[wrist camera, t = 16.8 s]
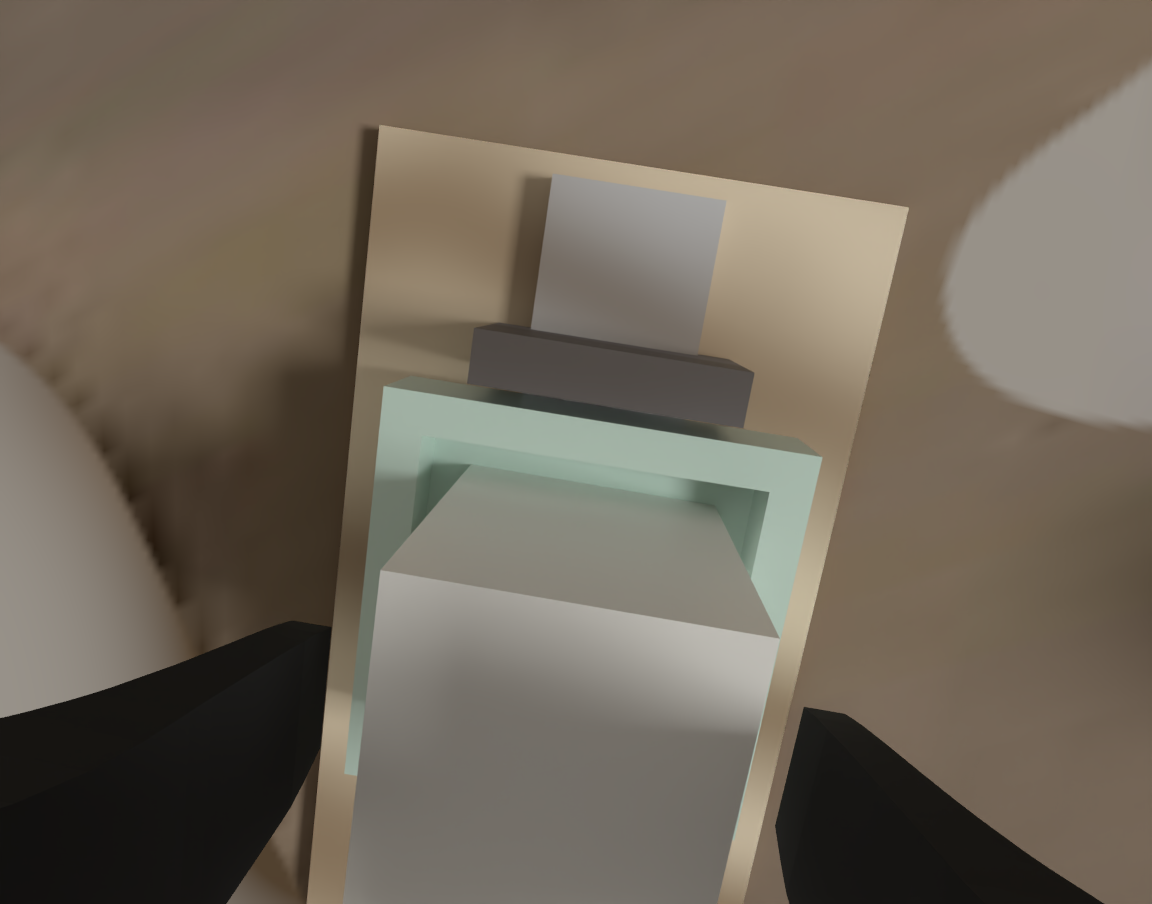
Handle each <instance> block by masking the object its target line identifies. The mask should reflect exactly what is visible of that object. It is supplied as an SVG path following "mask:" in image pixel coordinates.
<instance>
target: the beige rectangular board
mask: <svg viewBox="0 0 1152 904" xmlns="http://www.w3.org/2000/svg"><path fill="white" fill-rule="evenodd" d="M908 210H909V207H903V206H896V205H890V204H883V203H877V202H871V201H864V200H858V199H851V198H845V197H838V196H832V195H826V194H819V193H813V192H806V191H800V190H794V189H787V188H781V187H774V186H768V185H761V184H755V183H749V182H742V181H736V180H729V179H723V178H717V177H710V176H704V175H697V174H691V173H685V172H678V171H672V170H665V169H659V168H652V167H646V166H640V165H633V164H627V163H620V162H614V161H608V160H601V159H595V158H588V157H582V156H576V155H569V154H563V153H556V152H550V151H543V150H537V149H531V148H524V147H518V146H511V145H505V144H499V143H492V142H486V141H479V140H473V139H467V138H460V137H454V136H447V135H441V134H434V133H428V132H422V131H415V130H409V129H402V128H396V127H390V126H383V125H379V136H378V147H377V157H376V168H375V179H374V189H373V200H372V211H371V221H370V232H369V243H368V253H367V264H366V275H365V286H364V296H363V307H362V318H361V328H360V339H359V350H358V360H357V371H356V382H355V392H354V403H353V414H352V424H351V435H350V446H349V456H348V467H347V478H346V488H345V499H344V510H343V521H342V531H341V542H340V553H339V563H338V574H337V585H336V595H335V606H334V617H333V627H332V638H331V649H330V659H329V670H328V681H327V691H326V702H325V713H324V724H323V734H322V745H321V756H320V766H319V777H318V788H317V798H316V809H315V820H314V830H313V841H312V852H311V862H310V873H309V884H308V894H307V904H343V896H344V888H345V879H346V870H347V861H348V852H349V843H350V835H351V826H352V817H353V808H354V799H355V790H356V782H357V776H354V775H349V774H344V771H345V762H346V752H347V742H348V732H349V722H350V713H351V703H352V693H353V683H354V673H355V663H356V654H357V644H358V634H359V624H360V614H361V604H362V595H363V585H364V575H365V565H366V555H367V545H368V536H369V526H370V516H371V506H372V496H373V486H374V477H375V467H376V457H377V447H378V437H379V427H380V418H381V408H382V398H383V388H384V386H385V385H388V384H391V383H393V382H396V381H398V380H401V379H404V378H406V377H409V376H417V377H423V378H429V379H435V380H442V381H448V382H454V383H460V384H466V385H473V386H479V387H485V388H491V389H497V390H504V391H510V392H516V393H522V394H528V395H535V396H541V397H547V398H553V399H559V400H565V401H572V402H578V403H584V404H590V405H596V406H603V407H609V408H615V409H621V410H627V411H634V412H640V413H646V414H652V415H658V416H664V417H671V418H677V419H683V420H689V421H695V422H702V423H708V424H714V425H720V426H726V427H733V428H739V429H745V430H751V431H757V432H764V433H770V434H776V435H782V436H788V437H794V438H798V439H799V440H801V441H802V442H803V443H805V444H806V445H807V446H809V447H810V448H811V449H812V450H814V451H815V452H816V453H818V454H819V455H820V456H822V457H823V458H822V462H821V466H820V471H819V475H818V479H817V484H816V488H815V492H814V497H813V501H812V505H811V510H810V514H809V518H808V523H807V527H806V531H805V536H804V540H803V544H802V549H801V553H800V557H799V562H798V566H797V570H796V575H795V579H794V583H793V588H792V592H791V596H790V601H789V605H788V609H787V614H786V618H785V622H784V627H783V631H782V636H781V640H780V644H779V649H778V653H777V657H776V662H775V666H774V670H773V675H772V679H771V683H770V688H769V692H768V696H767V701H766V705H765V709H764V714H763V718H762V722H761V727H760V731H759V735H758V740H757V744H756V748H755V753H754V757H753V761H752V766H751V770H750V774H749V779H748V783H747V787H746V792H745V796H744V800H743V805H742V809H741V813H740V818H739V822H738V826H737V831H736V835H735V839H734V840H732V843H731V848H730V852H729V856H728V860H727V864H726V869H725V873H724V877H723V881H722V886H721V890H720V894H719V898H718V902H717V904H743V902H744V898H745V894H746V890H747V885H748V881H749V877H750V873H751V869H752V864H753V860H754V856H755V852H756V848H757V843H758V839H759V835H760V831H761V827H762V822H763V818H764V814H765V810H766V806H767V801H768V797H769V793H770V789H771V785H772V780H773V776H774V772H775V768H776V764H777V759H778V755H779V751H780V747H781V743H782V738H783V734H784V730H785V726H786V722H787V717H788V713H789V709H790V705H791V701H792V696H793V692H794V688H795V684H796V680H797V676H798V671H799V667H800V663H801V659H802V655H803V650H804V646H805V642H806V638H807V634H808V629H809V625H810V621H811V617H812V613H813V608H814V604H815V600H816V596H817V592H818V587H819V583H820V579H821V575H822V571H823V566H824V562H825V558H826V554H827V550H828V545H829V541H830V537H831V533H832V529H833V524H834V520H835V516H836V512H837V508H838V503H839V499H840V495H841V491H842V487H843V482H844V478H845V474H846V470H847V466H848V461H849V457H850V453H851V449H852V445H853V440H854V436H855V432H856V428H857V424H858V419H859V415H860V411H861V407H862V403H863V398H864V394H865V390H866V386H867V382H868V378H869V373H870V369H871V365H872V361H873V357H874V352H875V348H876V344H877V340H878V336H879V331H880V327H881V323H882V319H883V315H884V310H885V306H886V302H887V298H888V294H889V289H890V285H891V281H892V277H893V273H894V268H895V264H896V260H897V256H898V252H899V247H900V243H901V239H902V235H903V231H904V226H905V222H906V218H907V214H908Z"/></svg>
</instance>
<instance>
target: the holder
mask: <svg viewBox="0 0 1152 904" xmlns="http://www.w3.org/2000/svg"><path fill="white" fill-rule="evenodd" d="M822 458H823V457H822V456H820V455H819V454H818V453H816V452H815V451H814V450H812V449H811V448H810V447H809V446H807V445H806V444H805V443H803V442H802V441H801V440H799V439H798V438H794V437H788V436H782V435H776V434H770V433H764V432H757V431H751V430H745V429H739V428H733V427H726V426H720V425H714V424H708V423H702V422H695V421H689V420H683V419H677V418H671V417H664V416H658V415H652V414H646V413H640V412H634V411H627V410H621V409H615V408H609V407H603V406H596V405H590V404H584V403H578V402H572V401H565V400H559V399H553V398H547V397H541V396H535V395H528V394H522V393H516V392H510V391H504V390H497V389H491V388H485V387H479V386H473V385H466V384H460V383H454V382H448V381H442V380H435V379H429V378H423V377H417V376H409V377H406V378H404V379H401V380H398V381H396V382H393V383H391V384H388V385H385V386H384V388H383V398H382V408H381V418H380V427H379V437H378V447H377V457H376V467H375V477H374V486H373V496H372V506H371V516H370V526H369V536H368V545H367V555H366V565H365V575H364V585H363V595H362V604H361V614H360V624H359V634H358V644H357V654H356V663H355V673H354V683H353V693H352V703H351V713H350V722H349V732H348V742H347V752H346V762H345V771H344V774H349V775H354V776H357V773H358V764H359V755H360V746H361V737H362V728H363V720H364V711H365V702H366V693H367V684H368V675H369V667H370V658H371V649H372V640H373V631H374V622H375V614H376V605H377V596H378V587H379V578H380V570H381V569H382V568H383V566H384V565H385V564H386V563H387V562H388V561H389V559H390V558H391V557H392V556H393V555H394V554H395V552H396V551H397V550H398V549H399V548H400V547H401V545H402V544H403V543H404V542H405V541H406V540H407V538H408V537H409V536H410V535H411V534H412V533H413V531H414V530H415V529H416V528H417V527H418V526H419V524H420V523H421V522H422V521H423V520H424V519H425V517H426V516H427V515H428V514H429V513H430V512H431V510H432V509H433V508H434V507H435V506H436V505H437V503H438V502H439V501H440V500H441V499H442V498H443V496H444V495H445V494H446V493H447V492H448V491H449V489H450V488H451V487H452V486H453V485H454V484H455V483H456V481H457V480H458V479H459V478H460V477H461V476H462V474H463V473H464V472H465V471H466V470H467V469H468V467H469V466H470V465H471V464H473V465H478V466H484V467H490V468H496V469H502V470H508V471H514V472H520V473H526V474H531V475H537V476H543V477H549V478H555V479H561V480H567V481H573V482H579V483H584V484H590V485H596V486H602V487H608V488H614V489H620V490H626V491H632V492H637V493H643V494H649V495H655V496H661V497H667V498H673V499H679V500H685V501H690V502H696V503H702V504H708V505H714V506H715V507H716V509H717V511H718V513H719V515H720V517H721V519H722V521H723V523H724V525H725V527H726V529H727V531H728V533H729V535H730V537H731V539H732V541H733V543H734V546H735V548H736V550H737V552H738V554H739V556H740V558H741V560H742V562H743V564H744V566H745V568H746V570H747V572H748V574H749V576H750V578H751V580H752V582H753V584H754V586H755V588H756V591H757V593H758V595H759V597H760V599H761V601H762V603H763V605H764V607H765V609H766V611H767V613H768V615H769V617H770V619H771V621H772V623H773V625H774V627H775V629H776V631H777V633H778V636H779V638H780V640H781V636H782V631H783V627H784V622H785V618H786V614H787V609H788V605H789V601H790V596H791V592H792V588H793V583H794V579H795V575H796V570H797V566H798V562H799V557H800V553H801V549H802V544H803V540H804V536H805V531H806V527H807V523H808V518H809V514H810V510H811V505H812V501H813V497H814V492H815V488H816V484H817V479H818V475H819V471H820V466H821V462H822ZM779 644H780V641H779ZM778 649H779V646H778ZM777 653H778V650H777ZM776 657H777V654H776ZM775 662H776V658H775ZM775 662H774V666H775ZM773 670H774V667H773ZM772 675H773V671H772ZM772 675H771V679H772ZM771 679H770V683H771ZM770 683H769V688H770ZM769 688H768V692H769ZM768 692H767V696H768ZM767 696H766V700H765V705H766V701H767ZM765 705H764V709H765ZM764 709H763V713H762V717H761V721H760V726H759V730H758V734H757V738H756V742H755V747H754V751H753V755H752V759H751V763H750V768H749V772H748V776H747V780H746V785H745V789H744V793H743V797H742V801H741V806H740V810H739V814H738V818H737V822H736V827H735V831H734V835H733V839H732V840H734V839H735V835H736V831H737V826H738V822H739V818H740V813H741V809H742V805H743V800H744V796H745V792H746V787H747V783H748V779H749V774H750V770H751V766H752V761H753V757H754V753H755V748H756V744H757V740H758V735H759V731H760V727H761V722H762V718H763V714H764Z"/></svg>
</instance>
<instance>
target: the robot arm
mask: <svg viewBox="0 0 1152 904" xmlns="http://www.w3.org/2000/svg"><path fill="white" fill-rule="evenodd" d="M330 638H331V627H327V626H321V625H315V624H309V623H303V622H297V621H289V622H286V623H282V624H279V625H276V626H273V627H270V628H267V629H265V630H262V631H260V632H257V633H254V634H252V635H249V636H247V637H244V638H242V639H239V640H237V641H234V642H232V643H229V644H227V645H224V646H222V647H219V648H217V649H214V650H212V651H209V652H207V653H204V654H202V655H199V656H197V657H194V658H192V659H189V660H187V661H184V662H181V663H179V664H176V665H174V666H171V667H168V668H165V669H162V670H160V671H156V672H154V673H151V674H148V675H145V676H142V677H140V678H137V679H134V680H132V681H128V682H126V683H123V684H120V685H117V686H115V687H112V688H108V689H105V690H102V691H99V692H96V693H93V694H89V695H86V696H83V697H79V698H76V699H73V700H69V701H66V702H62V703H58V704H55V705H51V706H47V707H43V708H40V709H36V710H33V711H28V712H25V713H20V714H16V715H12V716H9V717H4V718H0V904H226V903H227V902H228V900H229V899H230V897H231V896H232V894H233V893H234V892H235V890H236V889H237V887H238V886H239V884H240V883H241V881H242V880H243V878H244V876H245V875H246V874H247V872H248V870H249V869H250V868H251V866H252V865H253V863H254V862H255V860H256V859H257V857H258V856H259V854H260V853H261V851H262V850H263V848H264V847H265V845H266V844H267V842H268V841H269V839H270V838H271V836H272V835H273V833H274V832H275V830H276V829H277V827H278V826H279V824H280V823H281V821H282V820H283V818H284V817H285V815H286V814H287V812H288V811H289V809H290V807H291V806H292V804H293V802H294V800H295V798H296V796H297V794H298V792H299V790H300V788H301V786H302V784H303V782H304V780H305V778H306V776H307V774H308V772H309V770H310V768H311V766H312V764H313V762H314V759H315V757H316V755H317V753H318V751H319V749H320V744H321V734H322V723H323V712H324V702H325V691H326V680H327V670H328V659H329V649H330ZM775 828H776V834H777V841H778V847H779V854H780V860H781V866H782V872H783V877H784V883H785V888H786V893H787V897H788V900H789V904H1104V903H1102V902H1101V901H1099V900H1097V899H1096V898H1094V897H1093V896H1091V895H1090V894H1088V893H1086V892H1085V891H1083V890H1082V889H1080V888H1079V887H1077V886H1076V885H1074V884H1072V883H1071V882H1069V881H1068V880H1066V879H1065V878H1063V877H1061V876H1060V875H1058V874H1057V873H1055V872H1054V871H1052V870H1051V869H1049V868H1048V867H1046V866H1045V865H1043V864H1042V863H1040V862H1039V861H1037V860H1036V859H1034V858H1033V857H1031V856H1030V855H1029V854H1027V853H1026V852H1024V851H1023V850H1021V849H1020V848H1019V847H1017V846H1016V845H1015V844H1013V843H1012V842H1010V841H1009V840H1008V839H1006V838H1005V837H1004V836H1002V835H1001V834H1000V833H998V832H997V831H995V830H994V829H993V828H991V827H990V826H989V825H987V824H986V823H984V822H983V821H982V820H980V819H979V818H978V817H976V816H975V815H974V814H973V813H971V812H970V811H969V810H967V809H966V808H965V807H963V806H962V805H961V804H960V803H958V802H957V801H956V800H954V799H953V798H952V797H951V796H949V795H948V794H947V793H946V792H944V791H943V790H942V789H941V788H939V787H938V786H937V785H936V784H934V783H933V782H932V781H931V780H929V779H928V778H927V777H926V776H924V775H923V774H922V773H921V772H919V771H918V770H917V769H916V768H915V767H913V766H912V765H911V764H910V763H908V762H907V761H906V760H905V759H904V758H902V757H901V756H900V755H899V754H897V753H896V752H895V751H894V750H892V749H891V748H890V747H889V746H888V745H886V744H885V743H884V742H883V741H881V740H880V739H879V738H878V737H876V736H875V735H874V734H872V733H871V732H870V731H869V730H867V729H866V728H865V727H863V726H862V725H861V724H859V723H858V722H856V721H855V720H854V719H852V718H850V717H849V716H847V715H846V714H842V713H836V712H830V711H825V710H819V709H813V708H807V707H804V709H803V713H802V717H801V721H800V725H799V730H798V734H797V738H796V742H795V746H794V750H793V754H792V759H791V763H790V767H789V771H788V775H787V779H786V783H785V788H784V792H783V796H782V800H781V804H780V808H779V812H778V817H777V821H776V825H775Z"/></svg>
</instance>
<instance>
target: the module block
mask: <svg viewBox="0 0 1152 904" xmlns="http://www.w3.org/2000/svg"><path fill="white" fill-rule="evenodd" d="M779 641H780V638H779V636H778V633H777V631H776V629H775V627H774V625H773V623H772V621H771V619H770V617H769V615H768V613H767V611H766V609H765V607H764V605H763V603H762V601H761V599H760V597H759V595H758V593H757V591H756V588H755V586H754V584H753V582H752V580H751V578H750V576H749V574H748V572H747V570H746V568H745V566H744V564H743V562H742V560H741V558H740V556H739V554H738V552H737V550H736V548H735V546H734V543H733V541H732V539H731V537H730V535H729V533H728V531H727V529H726V527H725V525H724V523H723V521H722V519H721V517H720V515H719V513H718V511H717V509H716V507H715V506H714V505H708V504H702V503H696V502H690V501H685V500H679V499H673V498H667V497H661V496H655V495H649V494H643V493H637V492H632V491H626V490H620V489H614V488H608V487H602V486H596V485H590V484H584V483H579V482H573V481H567V480H561V479H555V478H549V477H543V476H537V475H531V474H526V473H520V472H514V471H508V470H502V469H496V468H490V467H484V466H478V465H473V464H471V465H470V466H469V467H468V469H467V470H466V471H465V472H464V473H463V474H462V476H461V477H460V478H459V479H458V480H457V481H456V483H455V484H454V485H453V486H452V487H451V488H450V489H449V491H448V492H447V493H446V494H445V495H444V496H443V498H442V499H441V500H440V501H439V502H438V503H437V505H436V506H435V507H434V508H433V509H432V510H431V512H430V513H429V514H428V515H427V516H426V517H425V519H424V520H423V521H422V522H421V523H420V524H419V526H418V527H417V528H416V529H415V530H414V531H413V533H412V534H411V535H410V536H409V537H408V538H407V540H406V541H405V542H404V543H403V544H402V545H401V547H400V548H399V549H398V550H397V551H396V552H395V554H394V555H393V556H392V557H391V558H390V559H389V561H388V562H387V563H386V564H385V565H384V566H383V568H382V569H381V570H380V578H379V587H378V596H377V605H376V614H375V622H374V631H373V640H372V649H371V658H370V667H369V675H368V684H367V693H366V702H365V711H364V720H363V728H362V737H361V746H360V755H359V764H358V773H357V782H356V790H355V799H354V808H353V817H352V826H351V835H350V843H349V852H348V861H347V870H346V879H345V888H344V896H343V904H717V902H718V898H719V894H720V890H721V886H722V881H723V877H724V873H725V869H726V864H727V860H728V856H729V852H730V848H731V843H732V839H733V835H734V831H735V827H736V822H737V818H738V814H739V810H740V806H741V801H742V797H743V793H744V789H745V785H746V780H747V776H748V772H749V768H750V763H751V759H752V755H753V751H754V747H755V742H756V738H757V734H758V730H759V726H760V721H761V717H762V713H763V709H764V705H765V700H766V696H767V692H768V688H769V683H770V679H771V675H772V671H773V667H774V662H775V658H776V654H777V650H778V646H779Z"/></svg>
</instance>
